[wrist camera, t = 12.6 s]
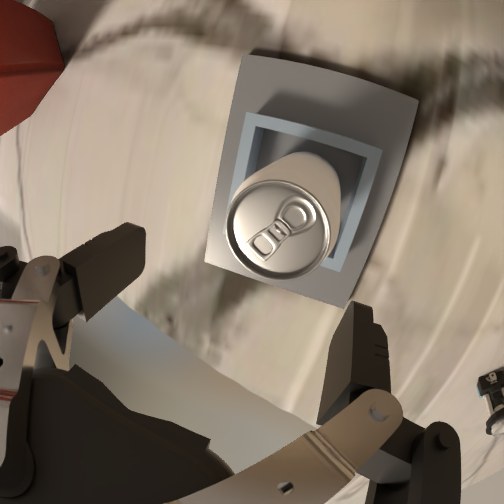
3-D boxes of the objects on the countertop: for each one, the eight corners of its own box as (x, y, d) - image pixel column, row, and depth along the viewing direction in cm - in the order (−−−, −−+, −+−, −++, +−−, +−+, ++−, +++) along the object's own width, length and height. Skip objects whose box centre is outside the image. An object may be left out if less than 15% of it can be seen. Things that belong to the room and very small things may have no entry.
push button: (513, 359, 26) (532, 409, 17) (506, 381, 27) (521, 428, 19) (477, 372, 28) (492, 426, 20) (472, 393, 30) (483, 444, 21)
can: (355, 189, 24) (365, 240, 13) (304, 233, 27) (276, 307, 17) (304, 135, 23) (273, 143, 13) (255, 184, 26) (195, 229, 16)
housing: (246, 56, 22) (231, 46, 19) (415, 101, 20) (428, 97, 16) (209, 256, 33) (192, 274, 29) (344, 302, 30) (343, 326, 26)
